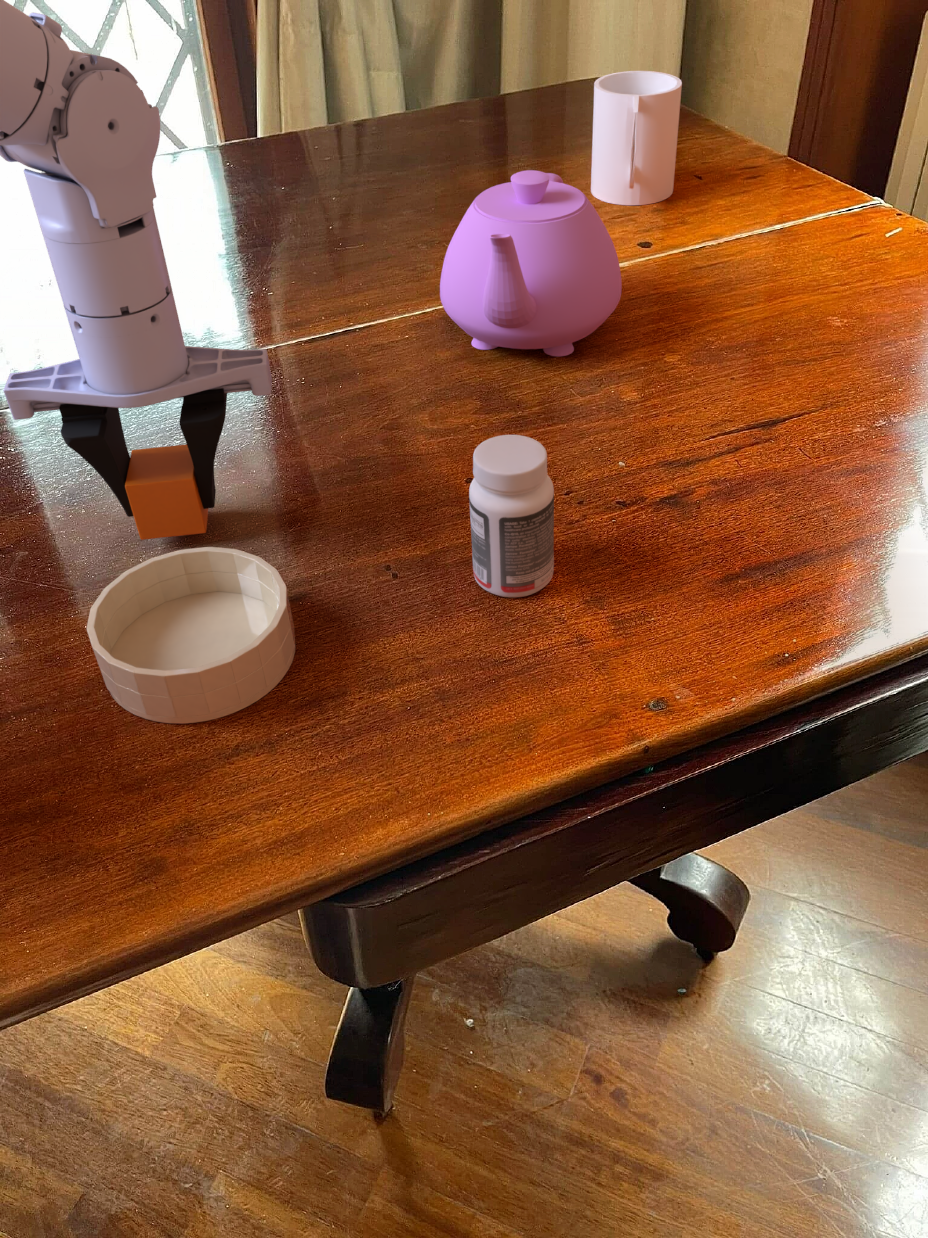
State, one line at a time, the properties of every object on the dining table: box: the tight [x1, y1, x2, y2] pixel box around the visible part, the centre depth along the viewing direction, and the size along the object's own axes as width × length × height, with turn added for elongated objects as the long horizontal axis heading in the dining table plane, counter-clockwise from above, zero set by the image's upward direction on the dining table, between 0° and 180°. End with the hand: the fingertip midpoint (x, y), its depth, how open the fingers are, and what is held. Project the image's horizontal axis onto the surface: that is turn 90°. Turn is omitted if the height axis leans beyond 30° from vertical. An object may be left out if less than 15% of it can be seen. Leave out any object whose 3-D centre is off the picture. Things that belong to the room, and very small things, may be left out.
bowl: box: [86, 546, 297, 725], centre depth 59 cm, size 10×10×4 cm
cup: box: [590, 70, 683, 206], centre depth 105 cm, size 8×12×10 cm
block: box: [125, 443, 209, 541], centre depth 67 cm, size 4×4×4 cm
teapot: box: [439, 169, 623, 357], centre depth 83 cm, size 20×14×12 cm
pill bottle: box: [468, 434, 555, 599], centre depth 62 cm, size 5×5×8 cm
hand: (172, 503), depth 68 cm, fingers closed on block, 4 cm apart
